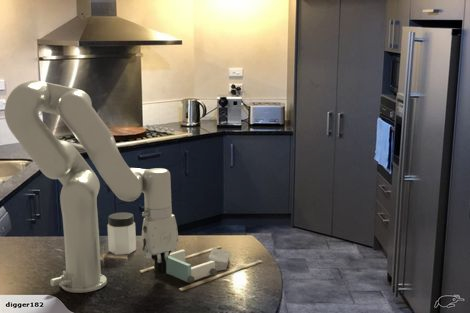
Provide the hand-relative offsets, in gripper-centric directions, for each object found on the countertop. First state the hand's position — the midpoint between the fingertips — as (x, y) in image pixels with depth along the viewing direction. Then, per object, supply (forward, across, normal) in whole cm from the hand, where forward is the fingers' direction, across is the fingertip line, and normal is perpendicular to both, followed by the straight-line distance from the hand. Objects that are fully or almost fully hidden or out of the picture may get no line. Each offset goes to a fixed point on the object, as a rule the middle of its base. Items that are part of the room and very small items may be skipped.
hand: (160, 273), depth 180 cm
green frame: (+2, +9, 0) cm, 9 cm away
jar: (+2, +6, +30) cm, 31 cm away
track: (+2, +16, 0) cm, 16 cm away
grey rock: (+3, +20, -2) cm, 21 cm away
